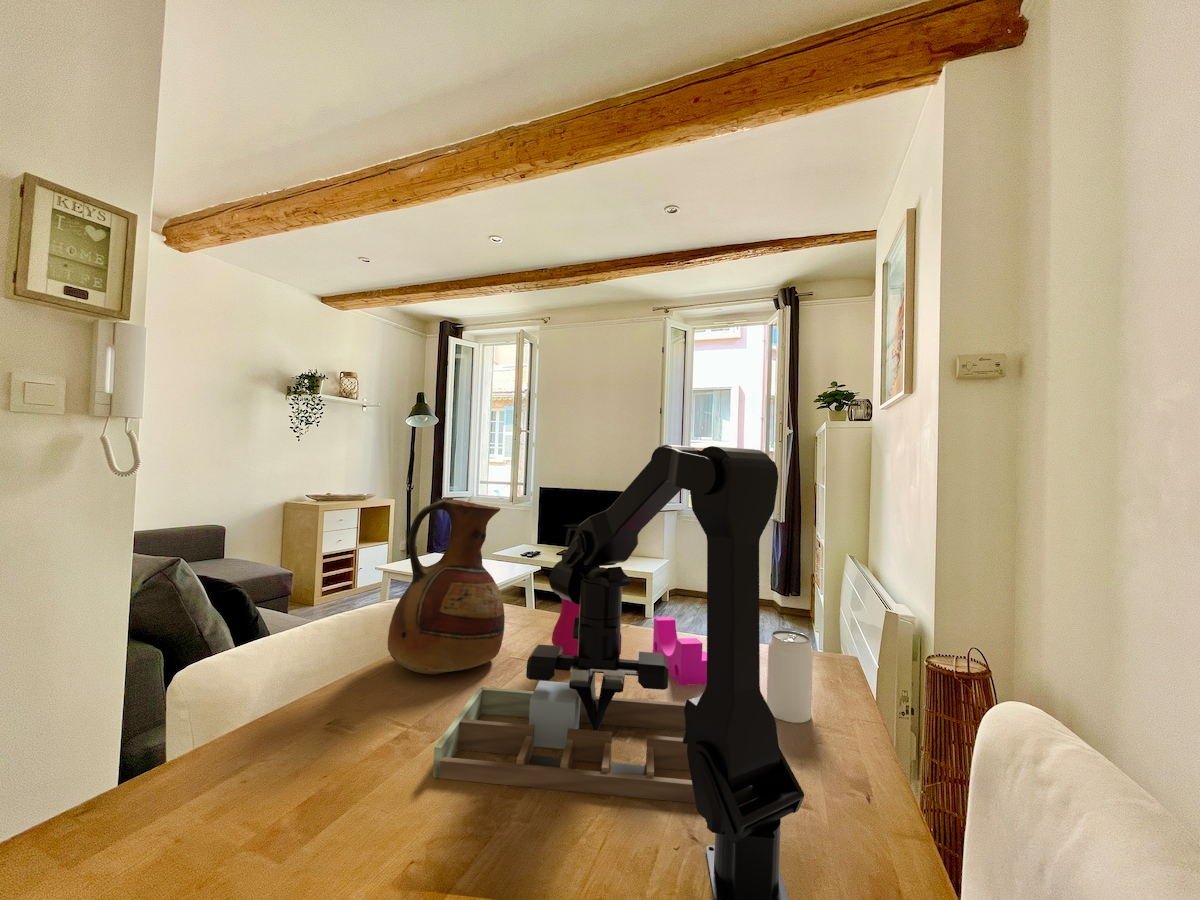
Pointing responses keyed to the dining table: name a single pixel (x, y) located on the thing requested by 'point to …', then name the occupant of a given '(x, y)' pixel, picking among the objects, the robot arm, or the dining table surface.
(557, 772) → the wooden compartment tray
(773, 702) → the can
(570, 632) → the pepper mill
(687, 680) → the toy block
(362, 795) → the dining table surface
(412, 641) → the ceramic pitcher
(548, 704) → the cube
